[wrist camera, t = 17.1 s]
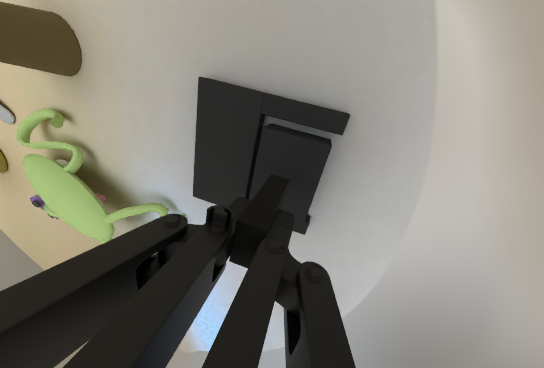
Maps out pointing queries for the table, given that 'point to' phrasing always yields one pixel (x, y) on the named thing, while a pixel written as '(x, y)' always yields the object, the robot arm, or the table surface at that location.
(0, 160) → the vase
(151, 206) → the figurine
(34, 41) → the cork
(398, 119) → the table surface
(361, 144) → the table surface
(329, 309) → the robot arm
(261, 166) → the charcoal pad
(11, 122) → the fork
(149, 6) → the table surface
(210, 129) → the black pad
